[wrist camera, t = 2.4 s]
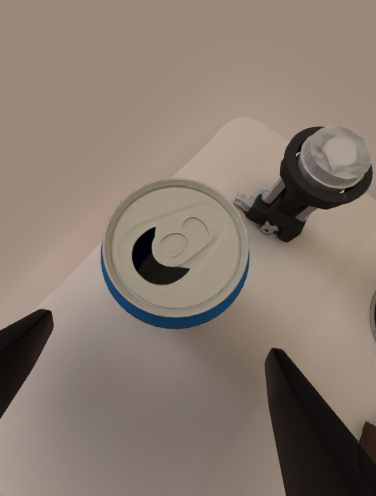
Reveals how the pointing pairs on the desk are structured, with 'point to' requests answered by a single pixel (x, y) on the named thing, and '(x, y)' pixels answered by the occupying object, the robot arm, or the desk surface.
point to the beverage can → (175, 253)
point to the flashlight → (373, 315)
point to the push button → (312, 180)
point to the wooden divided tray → (369, 440)
